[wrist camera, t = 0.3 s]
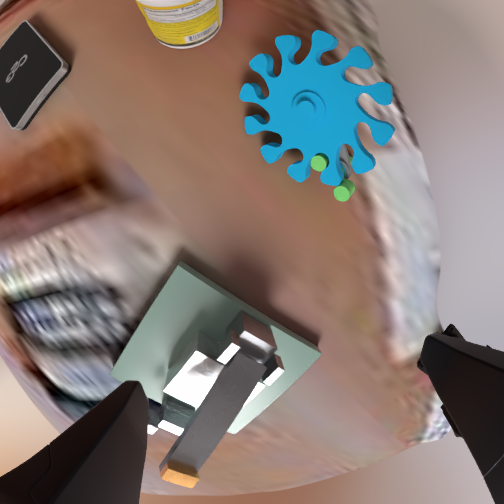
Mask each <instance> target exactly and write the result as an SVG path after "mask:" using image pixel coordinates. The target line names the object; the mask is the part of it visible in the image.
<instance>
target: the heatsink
mask: <svg viewBox="0 0 504 504" xmlns="http://www.w3.org/2000/svg"><path fill="white" fill-rule="evenodd" d="M219 343H220V342H219V341H217V340H216V339H214V338H212V337H210V336H209V335H207V334H205V333H203V332H202V331H200V330H198V332H197V333H196V334H195V336H194V337H193V338H192V339H191V341H190V342H189V343H188V344H187V346H186V347H185V348H184V350H183V351H182V352H181V353H180V355H179V356H178V357H177V359H176V360H175V361H174V362H173V364H172V365H171V366H170V368H169V369H168V372H167V377H166V381H165V386H164V390H163V391H164V392H166V393H168V394H170V395H172V396H174V397H176V398H178V399H180V400H182V401H185V402H187V403H189V404H191V405H193V406H195V407H199V405H200V404H201V402H202V400H203V399H204V397H205V396H206V394H207V392H208V391H209V389H210V388H211V386H212V385H213V383H214V381H215V380H216V378H217V376H218V375H219V373H220V372H221V370H222V368H223V367H224V365H225V364H224V363H222V362H220V361H218V360H217V345H218V344H219ZM265 386H266V385H265V383H263V381H262V377H261V379H260V381H259V382H258V384H257V386H256V387H255V389H254V390H253V392H252V394H251V395H250V397H249V398H248V400H247V401H246V403H245V405H246V404H247V403H248V402H249V401H250V400H251V399H252V398H253V397H254V396H256V395H257V394H258V393H259V392H260V391H261V390H262V389H263V388H264V387H265ZM245 405H244V406H245Z"/></svg>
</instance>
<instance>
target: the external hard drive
mask: <svg viewBox="0 0 504 504" xmlns="http://www.w3.org/2000/svg"><path fill="white" fill-rule="evenodd" d="M70 71H71V67H70V65H69V64H68V63H67V62H66V61H65V60H64V59H63V58H62V56H61V55H60V54H59V53H58V52H57V51H56V50H55V49H54V48H53V47H52V45H51V44H50V43H49V42H48V41H47V40H46V39H45V38H44V37H43V35H42V34H41V33H40V32H39V31H38V30H37V29H36V28H35V27H34V25H33V24H31V23H30V22H28V21H27V20H25V21H23V22H22V23H21V24H20V25H19V26H18V27H17V28H16V29H15V31H14V32H13V33H12V34H11V35H10V36H9V38H8V39H7V40H6V41H5V43H4V44H3V45H2V47H1V48H0V111H1V112H2V114H3V116H4V117H5V119H6V121H7V123H8V124H9V126H10V127H11V129H16V130H24V129H26V128H27V127H28V125H29V124H30V122H31V121H32V119H33V118H34V117H35V115H36V114H37V112H38V111H39V110H40V108H41V107H42V106H43V104H44V103H45V102H46V101H47V99H48V98H49V97H50V96H51V94H52V93H53V92H54V91H55V89H56V88H57V87H58V86H59V85H60V84H61V82H62V81H63V80H64V79H65V78H66V77H67V76H68V74H69V73H70Z"/></svg>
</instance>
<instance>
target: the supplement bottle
mask: <svg viewBox="0 0 504 504" xmlns="http://www.w3.org/2000/svg"><path fill="white" fill-rule="evenodd" d="M135 1H136V3H137V5H138V7H139V8H140V10H141V12H142V14H143V16H144V18H145V20H146V22H147V23H148V25H149V27H150V29H151V31H152V33H153V35H154V36H155V38H156V39H157V40H158V41H159V42H160V43H162V44H163V45H165V46H168V47H171V48H178V49H185V48H192V47H195V46H199V45H201V44H203V43H205V42H207V41H208V40H210V39H211V38H213V37H214V36H215V35H216V33H217V32H218V31H219V29H220V27H221V24H222V19H223V0H135Z"/></svg>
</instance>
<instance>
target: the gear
mask: <svg viewBox="0 0 504 504" xmlns="http://www.w3.org/2000/svg"><path fill="white" fill-rule="evenodd" d="M275 44H276V46H277V48H278V49H279V51H280V53H281V57H282V69H281V73H280V75H279V76H278V77H276V76H275V75H274V73H273V65H274V61H273V58H272V57H271V56H270V55H269V54H262V53H261V54H259V55H257V56H255V57H254V58H253V59H252V60H251V61H250V62H249V65H250V67H251V68H252V69H253V70H254V71H256V72H258V73H259V74H260V75H261V76H262V77H263V78H264V80H265V81H266V83H267V86H268V89H269V96H268V97H267V98H266V97H265V96H264V95H263V93H262V91H261V88H260V86H259V85H258V84H256V83H245V84H244V85H243V87H242V89H241V92H240V96H239V97H240V99H241V100H242V101H245V102H254V103H257V104H259V105H260V106H262V107H263V108H264V109H265V110H266V111H267V112H268V113H269V115H270V121H269V122H267V121H265V120H264V119H263V118H262V117H261V116H260V115H251V116H248V117H245V129H246V133H248V134H250V135H252V134H255V133H258V132H261V131H263V130H268V131H272V132H276V133H278V134H279V135H280V136H281V137H282V144H277V143H274V142H272V143H269V144H266V145H264V146H262V147H261V149H260V150H261V153H262V155H263V157H264V159H265V160H266V161H267V163H273V162H275V161H277V160H278V159H280V158H281V156H282V155H283V153H284V152H285V151H286V150H288V149H292V148H297V149H299V150H301V151H302V153H303V160H301V161H297V162H295V163H294V164H292V165H290V166H289V168H288V170H287V173H288V174H289V175H290V176H291V177H292V178H293V179H295V180H296V181H298V182H300V183H301V182H303V181H304V180H305V179H306V178H308V177H309V175H310V168H311V166H312V168H313V169H314V170H316V171H322V173H321V176H320V178H321V181H322V183H324V184H327V185H334V186H337V187H336V188H335V189H334V196H335V198H336V199H337V200H339V201H342V202H344V201H347V200H348V199H349V197H350V196H351V195H352V193H353V192H354V190H355V186H354V184H353V182H352V181H350V180H347V179H348V178H349V177H350V175H351V173H352V168H353V170H354V171H355V172H356V173H357V174H361V173H365V172H367V171H369V170H371V169H373V168H374V166H375V165H376V162H375V158H374V157H373V155H372V154H370V153H369V152H368V151H367V150H366V149H365V148H364V146H363V145H362V143H361V141H360V139H359V136H358V132H357V124H358V123H359V122H364V123H366V124H368V125H369V127H370V129H371V133H372V137H373V139H374V141H375V142H376V143H378V144H379V145H382V146H384V145H385V144H386V143H387V142H388V141H389V140H390V138H391V137H392V135H393V133H394V131H395V128H394V127H393V125H392V124H390V123H388V122H385V121H381V120H378V119H376V118H374V117H372V116H371V115H369V114H368V113H367V112H366V111H365V110H364V109H363V108H362V107H361V106H360V104H359V102H358V98H359V96H360V95H361V94H362V93H367V94H369V95H370V96H371V97H372V98H373V99H374V100H375V101H376V102H377V103H379V104H381V105H389V104H391V102H392V97H393V94H392V86H391V85H390V84H388V83H385V82H378V83H376V84H374V85H369V86H362V85H357V84H354V83H351V82H349V81H348V80H347V79H346V78H345V70H346V69H347V68H348V67H357V68H360V69H369V68H370V67H372V66H373V62H372V59H371V57H370V56H369V55H368V53H367V52H366V51H365V50H364V49H363V48H362V47H360V46H357V47H354V48H352V49H351V50H350V51H349V53H348V55H347V56H346V57H345V58H344V59H342V60H341V61H339V62H338V63H335V64H332V65H328V66H324V65H323V64H322V63H321V60H320V57H321V54H322V53H324V52H326V51H329V50H332V49H334V48H336V46H337V45H338V39H336V38H335V37H334V36H332V35H330V34H328V33H326V32H323V31H320V30H316V31H314V33H313V34H312V47H311V50H310V52H309V54H308V56H307V57H306V58H305V60H304V61H303V62H302V63H301V64H299V65H298V64H297V63H296V62H295V61H294V55H295V53H296V52H297V51H298V49H299V48H300V46H301V40H300V38H299V37H296V36H292V35H283V36H279V37H276V39H275ZM346 144H348V145H350V146H351V147H352V148H353V150H354V157H351V156H349V155H348V151H347V147H346ZM351 165H352V168H351Z"/></svg>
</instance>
